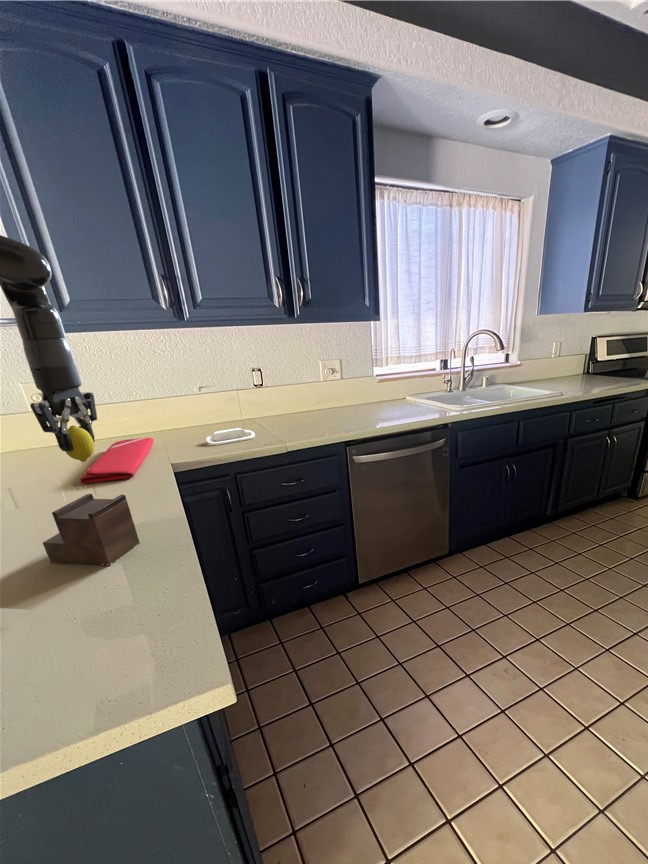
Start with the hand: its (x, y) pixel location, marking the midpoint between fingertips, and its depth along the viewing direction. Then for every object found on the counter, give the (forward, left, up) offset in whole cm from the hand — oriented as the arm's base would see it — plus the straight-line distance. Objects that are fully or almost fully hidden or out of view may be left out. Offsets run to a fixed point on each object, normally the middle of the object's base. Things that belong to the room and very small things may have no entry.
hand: (78, 446), depth 91 cm
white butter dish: (-10, +86, -23) cm, 90 cm away
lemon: (0, 0, -4) cm, 4 cm away
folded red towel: (-37, +56, -23) cm, 71 cm away
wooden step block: (+1, -6, -23) cm, 24 cm away
